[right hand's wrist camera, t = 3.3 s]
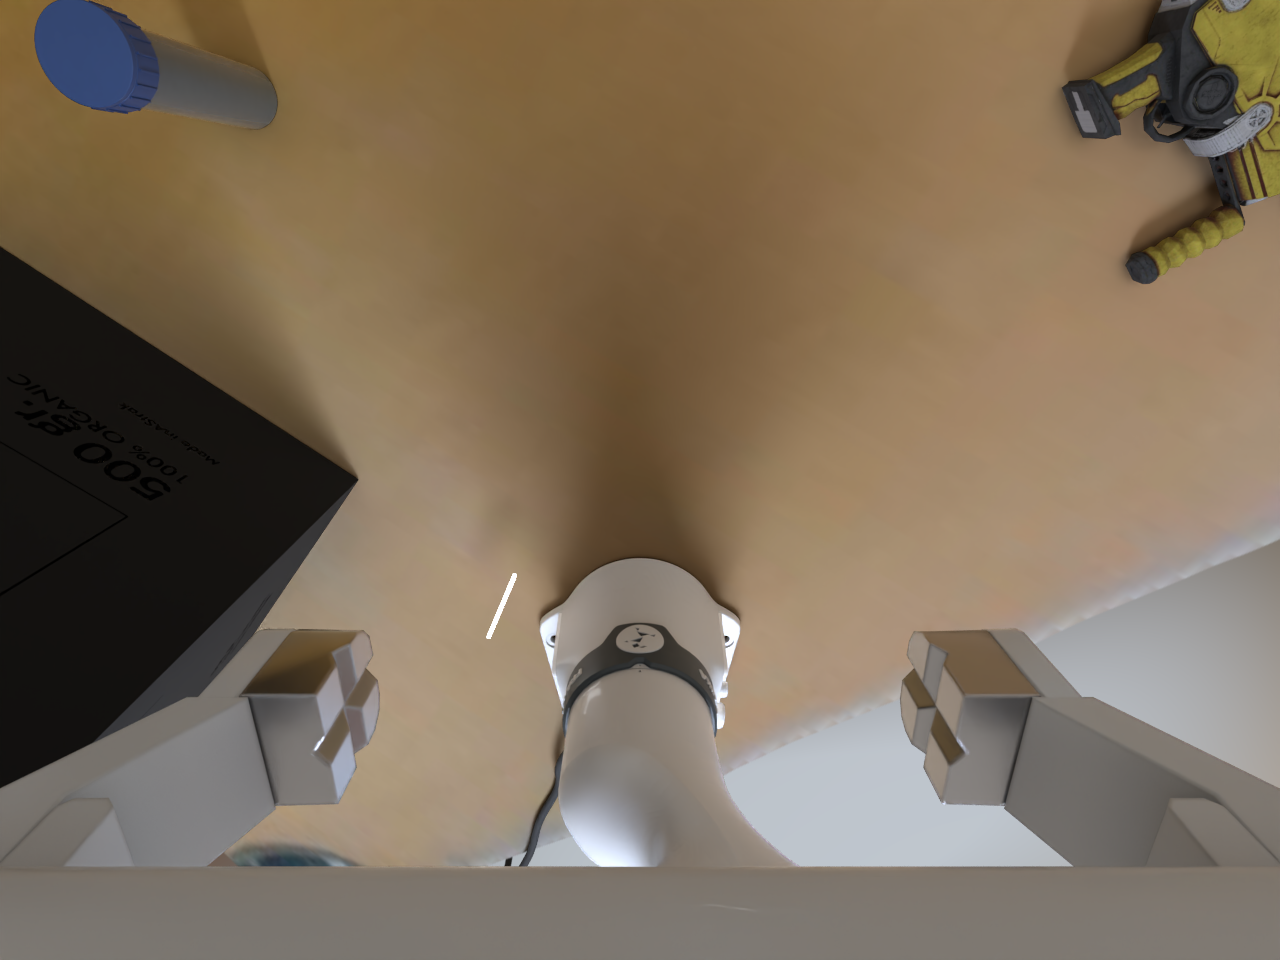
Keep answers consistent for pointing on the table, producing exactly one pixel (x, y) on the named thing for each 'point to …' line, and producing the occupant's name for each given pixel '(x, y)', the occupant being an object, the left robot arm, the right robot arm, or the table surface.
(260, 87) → the jar
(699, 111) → the table surface
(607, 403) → the table surface
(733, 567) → the table surface
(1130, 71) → the toy gun
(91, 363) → the cardboard box
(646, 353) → the table surface
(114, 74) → the lid
